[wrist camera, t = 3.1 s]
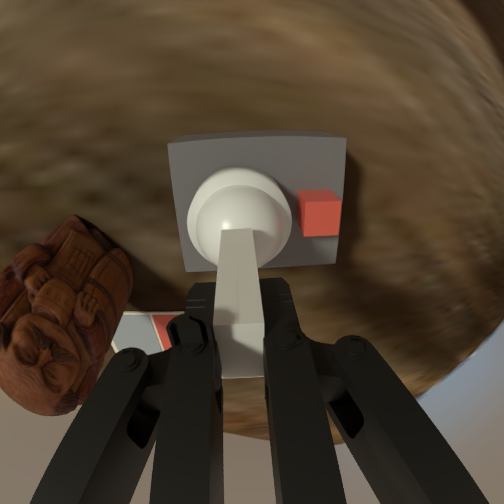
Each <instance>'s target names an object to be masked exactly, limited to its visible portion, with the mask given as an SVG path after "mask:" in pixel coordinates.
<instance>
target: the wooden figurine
mask: <svg viewBox="0 0 504 504" xmlns="http://www.w3.org/2000/svg"><path fill="white" fill-rule="evenodd" d="M132 286H133V273H132V267H131V264H130V262H129V260H128V258H127V256H126V254H125V253H124V252H123V251H122V249H120V248H114V247H113V246H112V245H111V244H110V243H109V241H108V240H107V238H105V237H104V236H103V235H102V234H101V232H100V231H99V230H97V229H95V228H90V229H87V227H86V226H85V225H84V224H83V223H82V222H81V220H80V219H79V218H78V217H77V216H76V215H72V216H69V217H67V218H66V219H65V220H63V221H62V222H61V223H60V224H58V225H57V226H56V227H55V228H54V229H53V230H52V231H51V232H50V233H49V234H48V235H47V236H46V237H45V238H44V239H43V241H42V242H41V244H38V243H33V244H31V245H29V246H27V247H26V248H25V249H23V250H22V251H21V252H20V253H19V254H18V255H16V256H15V257H14V259H13V260H12V262H11V263H10V264H9V265H8V266H7V267H6V268H5V269H4V270H3V271H2V272H1V273H0V388H1V389H2V390H3V391H4V392H5V393H6V394H7V395H8V396H9V397H10V398H11V399H12V400H13V401H15V402H16V403H18V404H19V405H20V406H22V407H23V408H25V409H26V410H28V411H31V412H33V413H35V414H39V415H43V416H59V415H63V414H68V413H69V412H71V411H73V410H75V409H76V407H77V405H82V404H83V403H84V401H85V400H86V398H87V396H88V395H89V393H90V392H91V390H92V388H93V387H94V385H95V383H96V380H97V377H98V374H99V372H100V370H101V368H102V366H103V362H104V357H105V353H107V351H108V349H109V347H110V345H111V343H112V340H113V338H114V335H115V333H116V331H117V328H118V325H119V323H120V320H121V318H122V316H123V313H124V310H125V307H126V305H127V302H128V300H129V297H130V294H131V291H132Z"/></svg>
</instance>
